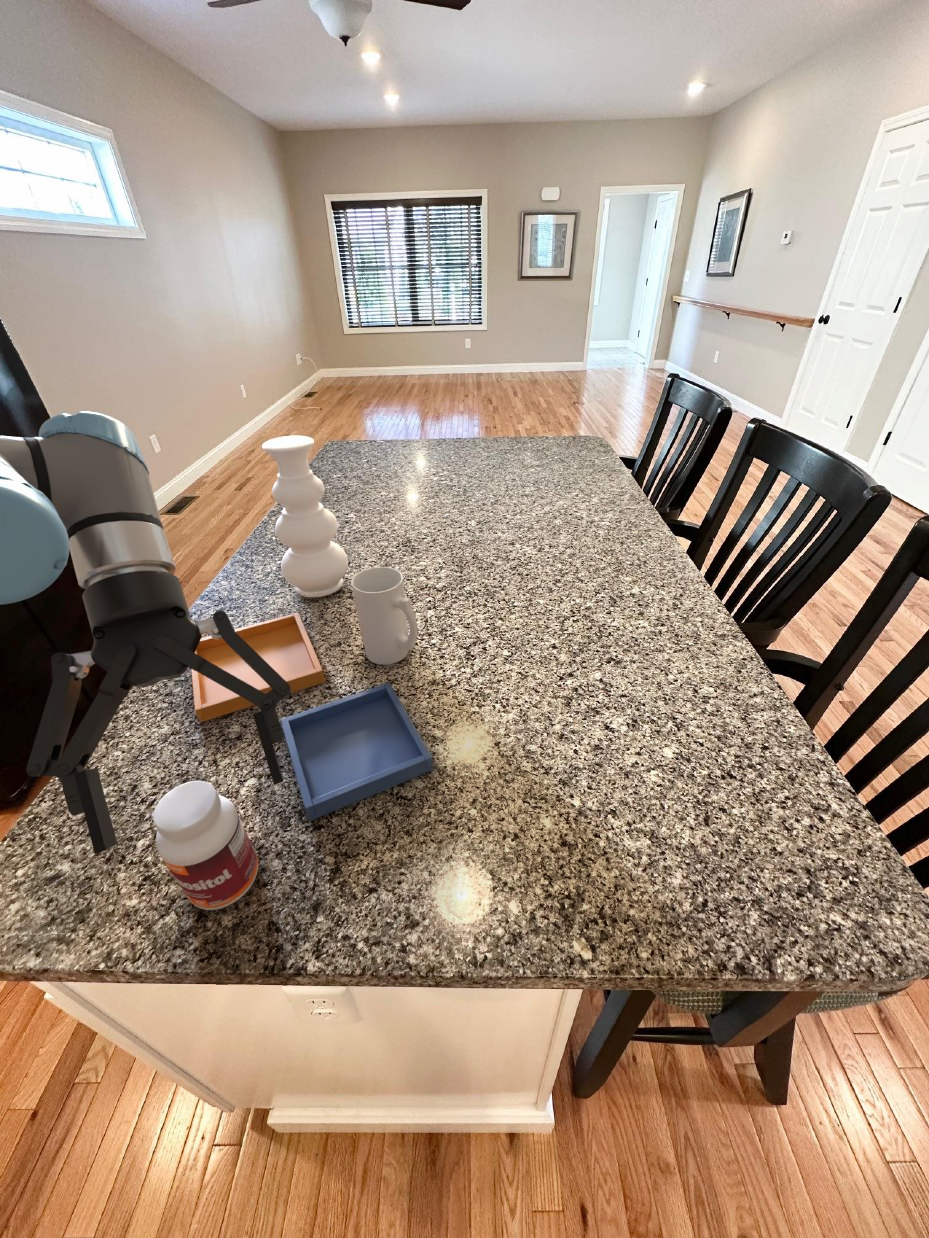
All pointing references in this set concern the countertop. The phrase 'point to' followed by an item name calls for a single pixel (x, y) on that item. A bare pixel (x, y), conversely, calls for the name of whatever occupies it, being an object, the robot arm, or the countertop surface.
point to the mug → (384, 614)
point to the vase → (305, 521)
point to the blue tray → (353, 749)
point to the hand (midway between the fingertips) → (197, 814)
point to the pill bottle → (205, 845)
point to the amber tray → (276, 644)
